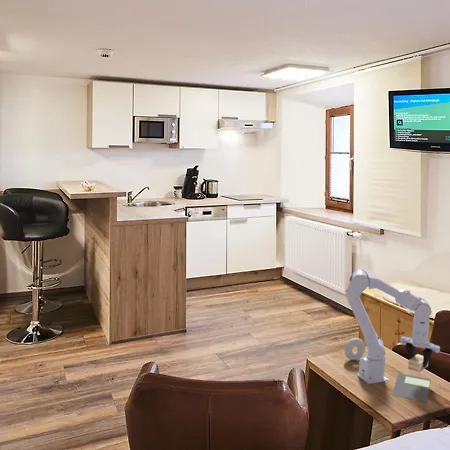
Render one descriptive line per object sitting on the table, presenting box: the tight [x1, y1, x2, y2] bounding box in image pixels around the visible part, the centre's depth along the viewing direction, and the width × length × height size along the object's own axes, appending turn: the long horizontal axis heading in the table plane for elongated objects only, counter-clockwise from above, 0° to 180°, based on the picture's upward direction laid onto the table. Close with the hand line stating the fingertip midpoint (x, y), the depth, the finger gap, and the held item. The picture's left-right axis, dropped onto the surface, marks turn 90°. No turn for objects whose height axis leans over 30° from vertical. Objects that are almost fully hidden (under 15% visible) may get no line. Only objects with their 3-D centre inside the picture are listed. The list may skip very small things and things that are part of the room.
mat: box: [391, 372, 431, 404], centre depth 182 cm, size 20×12×1 cm, turn 154°
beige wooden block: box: [407, 353, 429, 373], centre depth 185 cm, size 8×4×3 cm, turn 135°
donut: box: [343, 337, 366, 361], centre depth 206 cm, size 10×4×10 cm, turn 108°
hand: (418, 364), depth 185 cm, fingers closed on beige wooden block, 4 cm apart
